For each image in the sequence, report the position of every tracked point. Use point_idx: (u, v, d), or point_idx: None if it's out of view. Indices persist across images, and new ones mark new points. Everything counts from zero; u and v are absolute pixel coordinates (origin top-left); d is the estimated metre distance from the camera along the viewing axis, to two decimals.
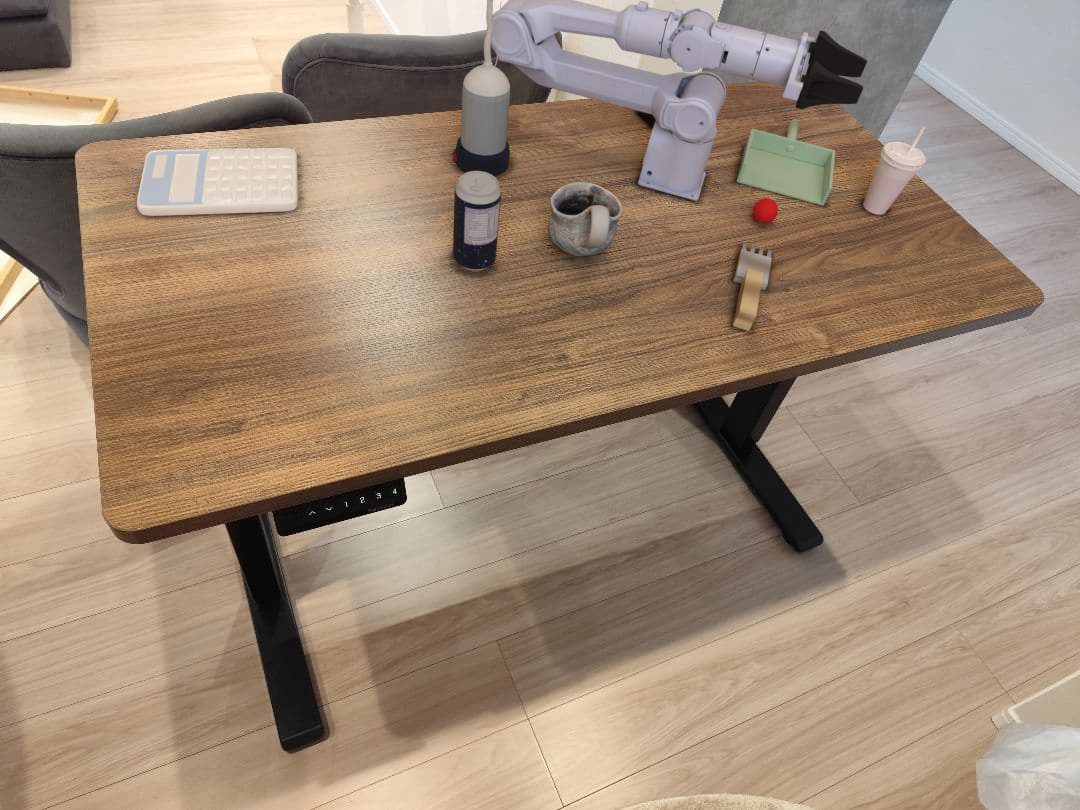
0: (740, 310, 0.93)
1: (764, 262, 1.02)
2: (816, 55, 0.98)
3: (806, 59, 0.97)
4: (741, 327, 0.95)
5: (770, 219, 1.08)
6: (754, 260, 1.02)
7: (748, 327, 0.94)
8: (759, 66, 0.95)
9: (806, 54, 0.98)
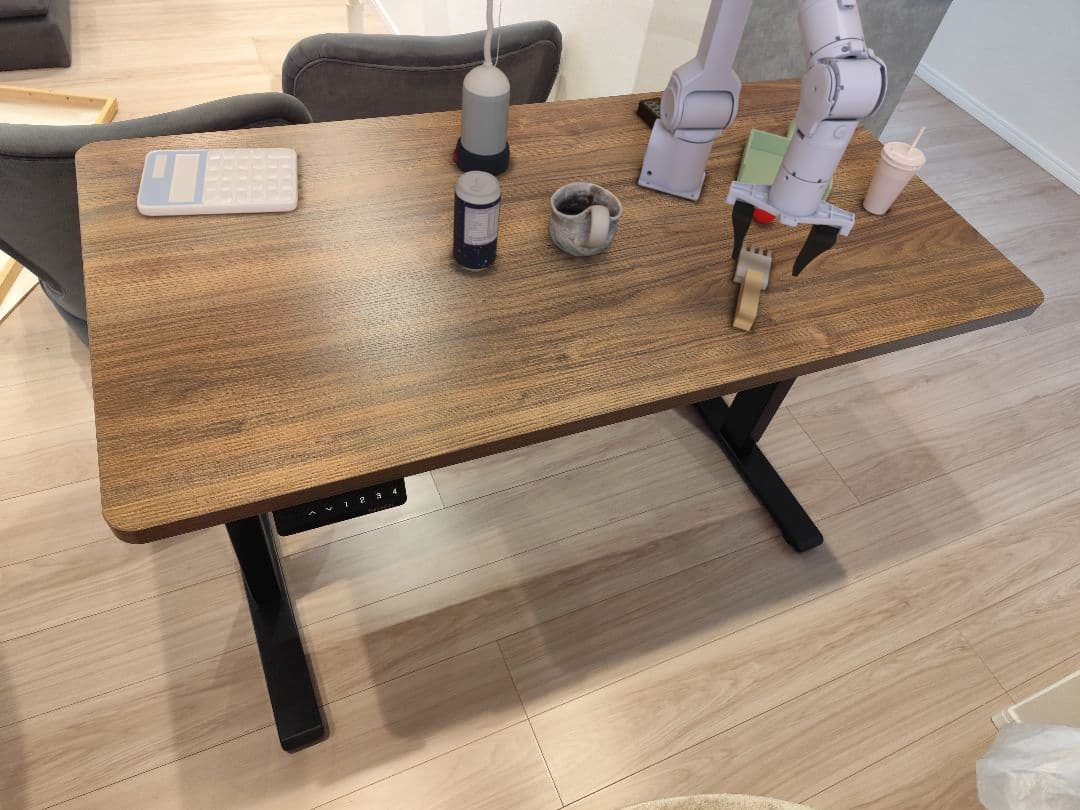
0: (740, 310, 0.93)
1: (764, 262, 1.02)
2: (814, 230, 0.86)
3: None
4: (741, 327, 0.95)
5: (770, 219, 1.08)
6: (754, 260, 1.02)
7: (748, 327, 0.94)
8: (781, 164, 0.82)
9: None
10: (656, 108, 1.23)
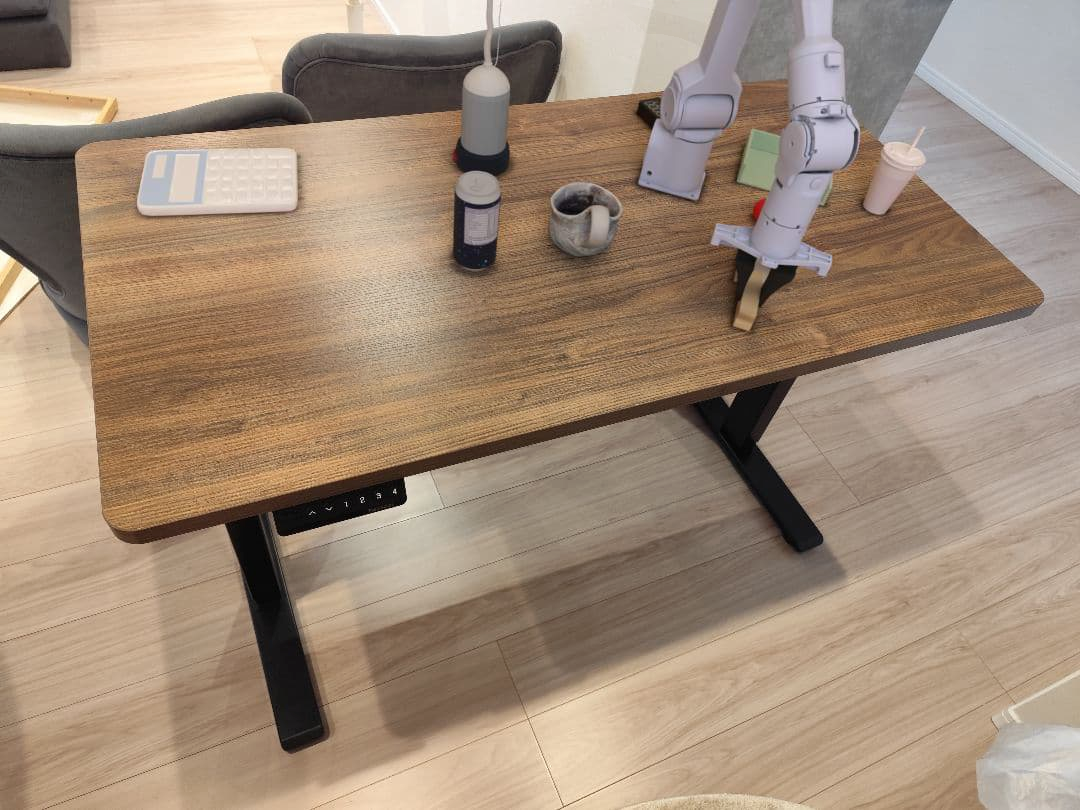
0: (740, 310, 0.93)
1: None
2: None
3: None
4: (741, 327, 0.95)
5: None
6: None
7: (748, 327, 0.94)
8: (762, 210, 0.87)
9: None
10: (656, 108, 1.23)
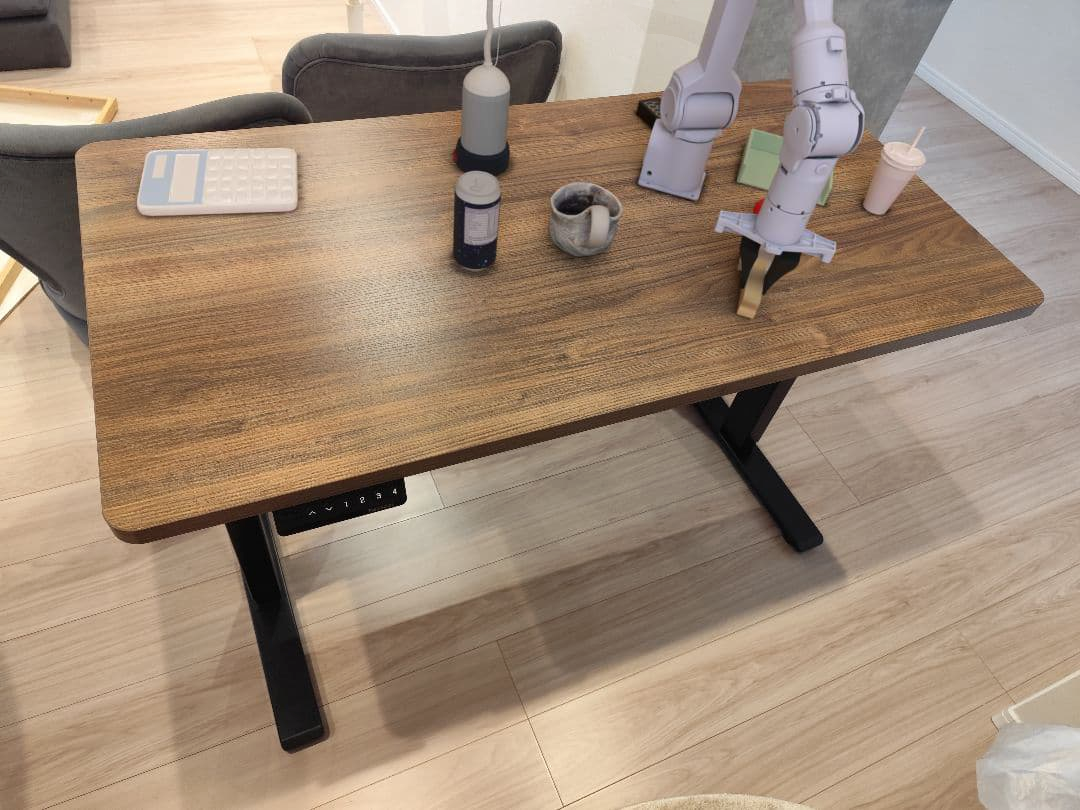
0: (744, 297, 0.93)
1: None
2: None
3: None
4: (745, 315, 0.95)
5: None
6: None
7: (752, 315, 0.94)
8: (766, 196, 0.87)
9: None
10: (656, 108, 1.23)
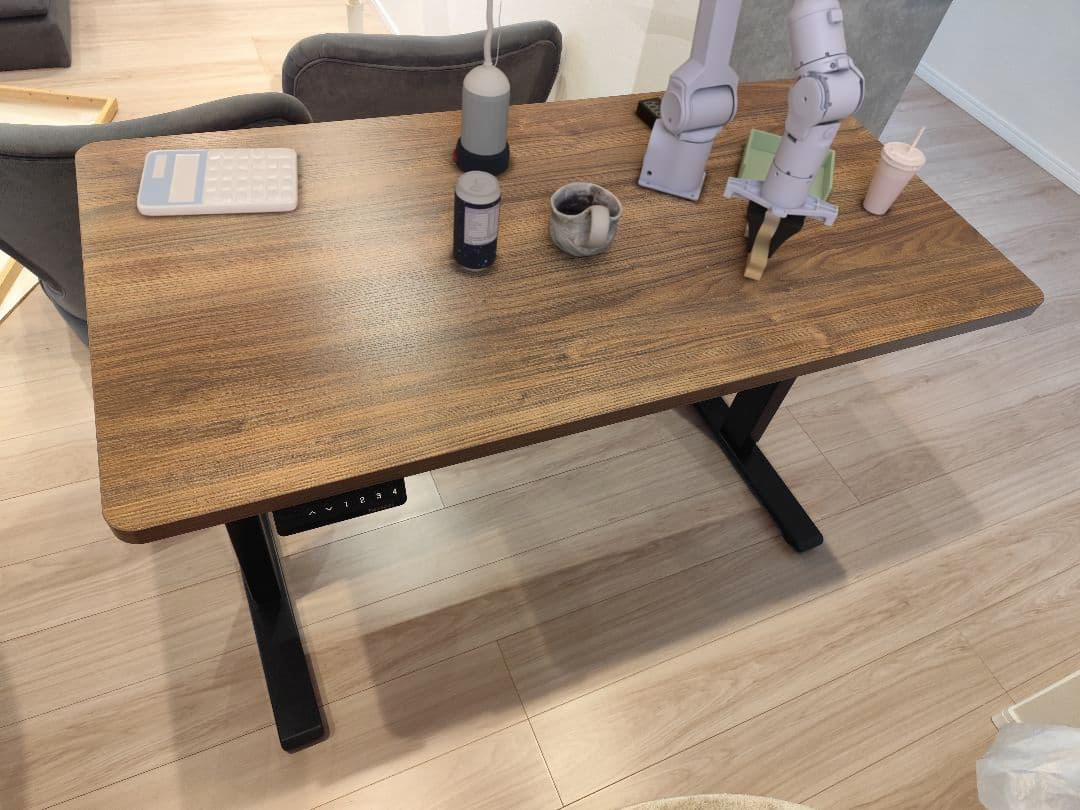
0: (751, 260, 0.98)
1: (773, 219, 1.08)
2: None
3: None
4: (752, 277, 1.00)
5: None
6: None
7: (758, 276, 1.00)
8: (772, 162, 0.92)
9: None
10: (655, 108, 1.23)
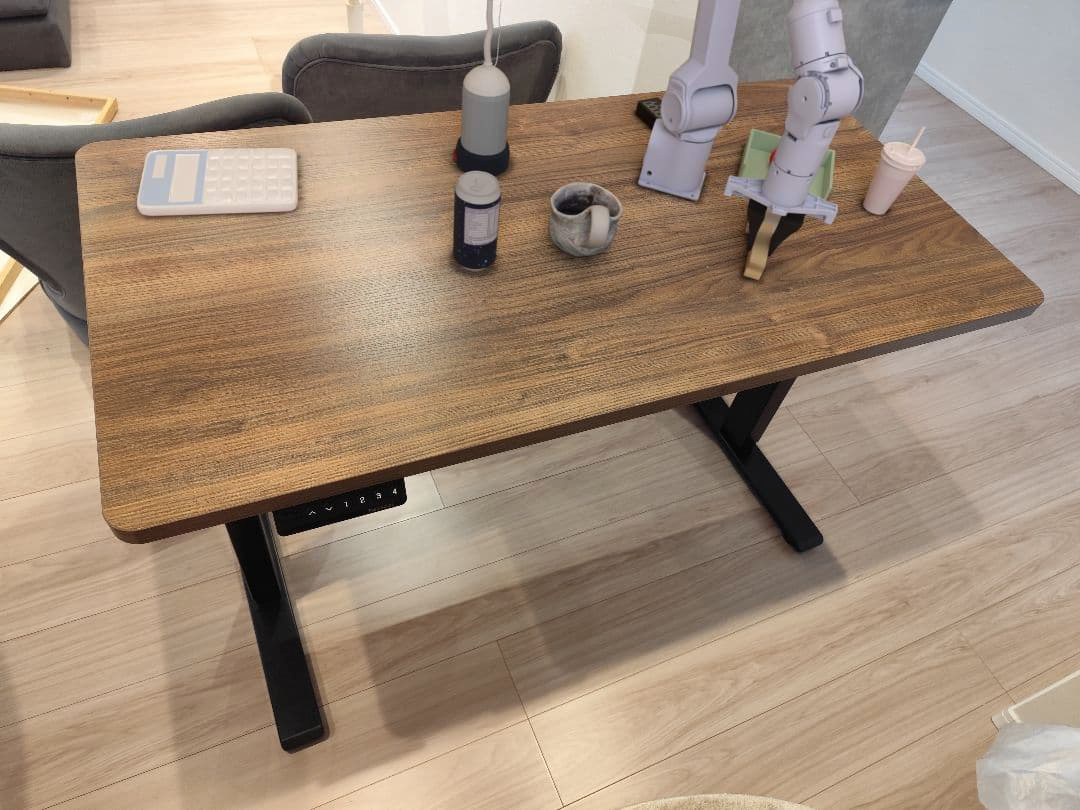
0: (750, 260, 0.99)
1: None
2: None
3: None
4: (751, 276, 1.01)
5: None
6: None
7: (758, 276, 1.01)
8: (772, 161, 0.93)
9: None
10: (655, 108, 1.23)
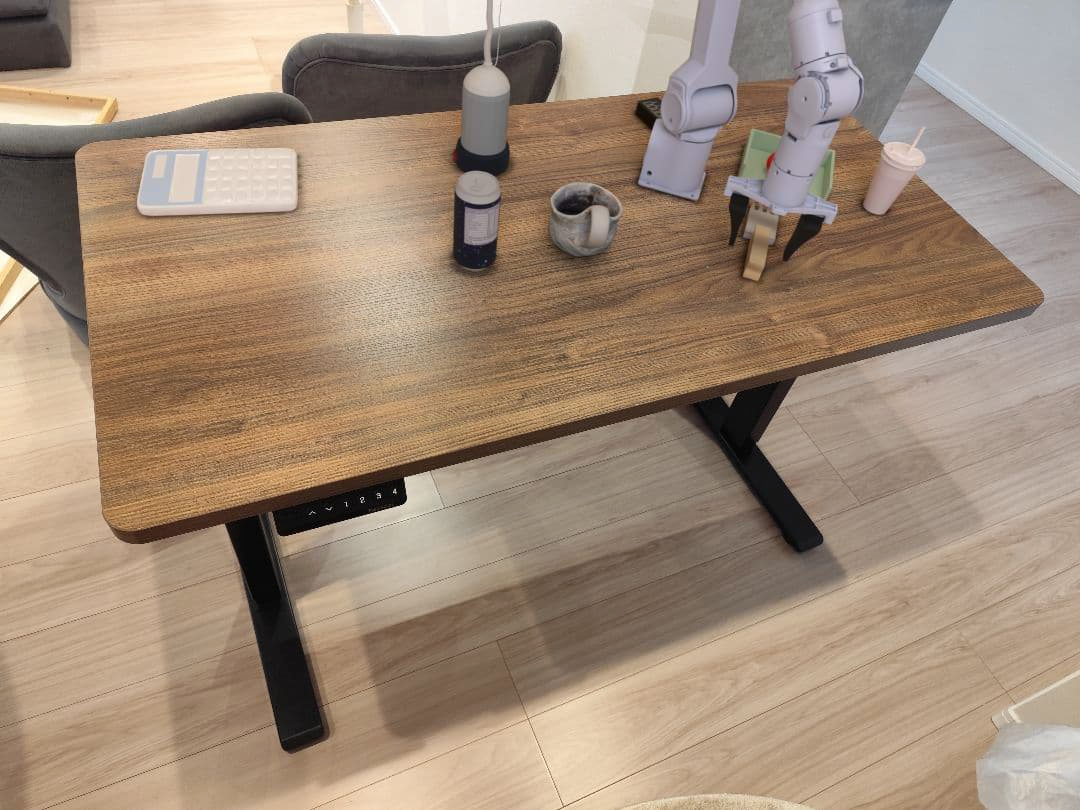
0: (750, 260, 0.99)
1: (772, 220, 1.09)
2: (802, 219, 0.97)
3: None
4: (750, 277, 1.01)
5: None
6: (762, 218, 1.09)
7: (757, 277, 1.01)
8: (772, 161, 0.93)
9: None
10: (655, 108, 1.23)
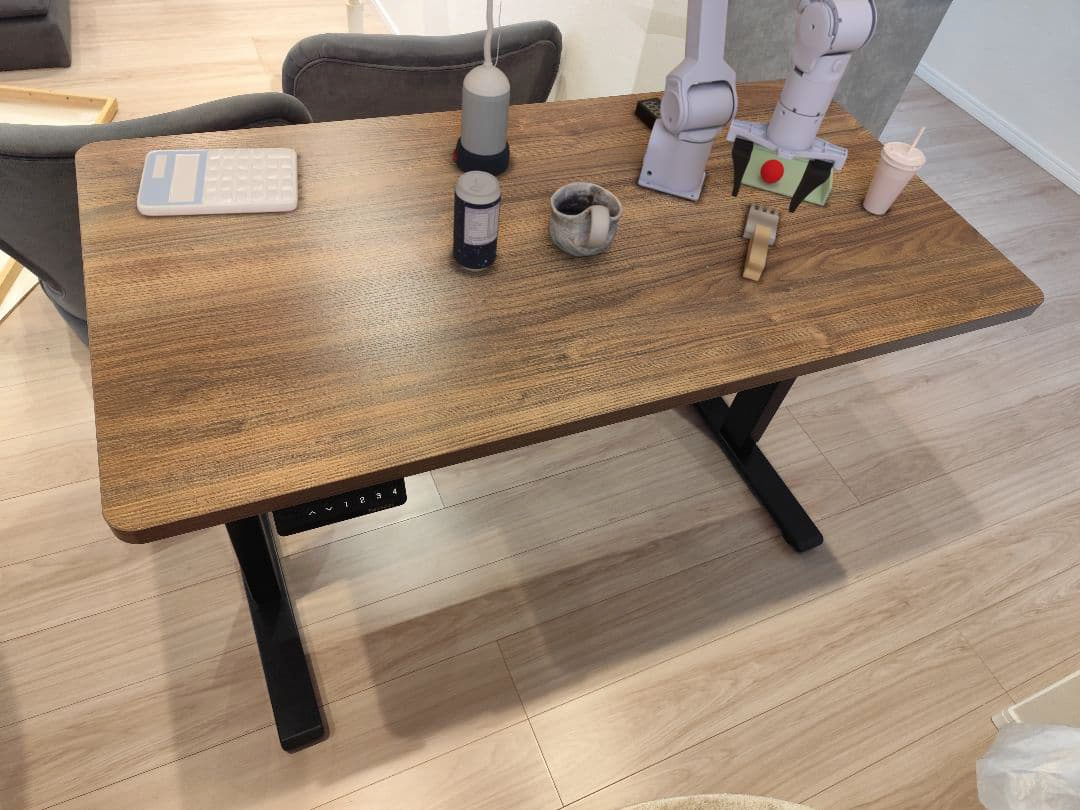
0: (750, 260, 0.99)
1: (772, 220, 1.09)
2: (809, 166, 0.92)
3: None
4: (750, 277, 1.01)
5: (773, 182, 1.15)
6: (762, 218, 1.09)
7: (757, 277, 1.01)
8: (778, 101, 0.87)
9: None
10: (654, 108, 1.23)
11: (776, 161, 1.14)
